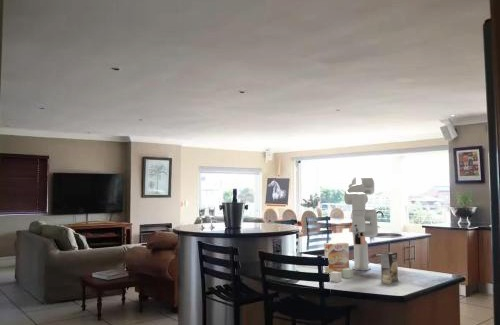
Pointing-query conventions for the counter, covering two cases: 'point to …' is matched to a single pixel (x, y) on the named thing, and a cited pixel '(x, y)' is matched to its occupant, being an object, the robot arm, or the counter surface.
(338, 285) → the counter surface
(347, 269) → the sage block
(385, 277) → the birch cylinder
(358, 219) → the robot arm
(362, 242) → the terracotta block
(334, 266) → the coffeecake box
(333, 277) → the off-white block
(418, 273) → the counter surface
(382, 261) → the coffee box
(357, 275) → the counter surface
